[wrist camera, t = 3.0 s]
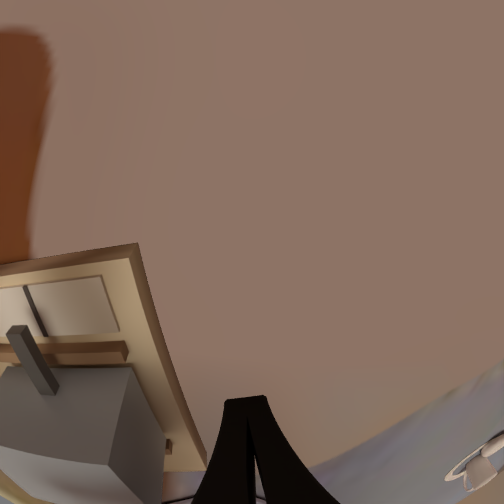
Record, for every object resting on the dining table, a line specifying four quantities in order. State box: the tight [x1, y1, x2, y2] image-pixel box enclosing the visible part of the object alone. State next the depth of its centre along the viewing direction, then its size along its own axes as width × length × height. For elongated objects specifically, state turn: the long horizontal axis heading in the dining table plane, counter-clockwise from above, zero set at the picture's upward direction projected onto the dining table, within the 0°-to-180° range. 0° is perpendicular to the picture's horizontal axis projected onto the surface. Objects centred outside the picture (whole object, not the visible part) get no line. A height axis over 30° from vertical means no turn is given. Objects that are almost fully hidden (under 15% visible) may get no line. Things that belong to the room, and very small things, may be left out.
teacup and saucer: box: [444, 434, 504, 491], centre depth 21 cm, size 9×8×4 cm
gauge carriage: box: [0, 325, 166, 504], centre depth 8 cm, size 9×7×4 cm
